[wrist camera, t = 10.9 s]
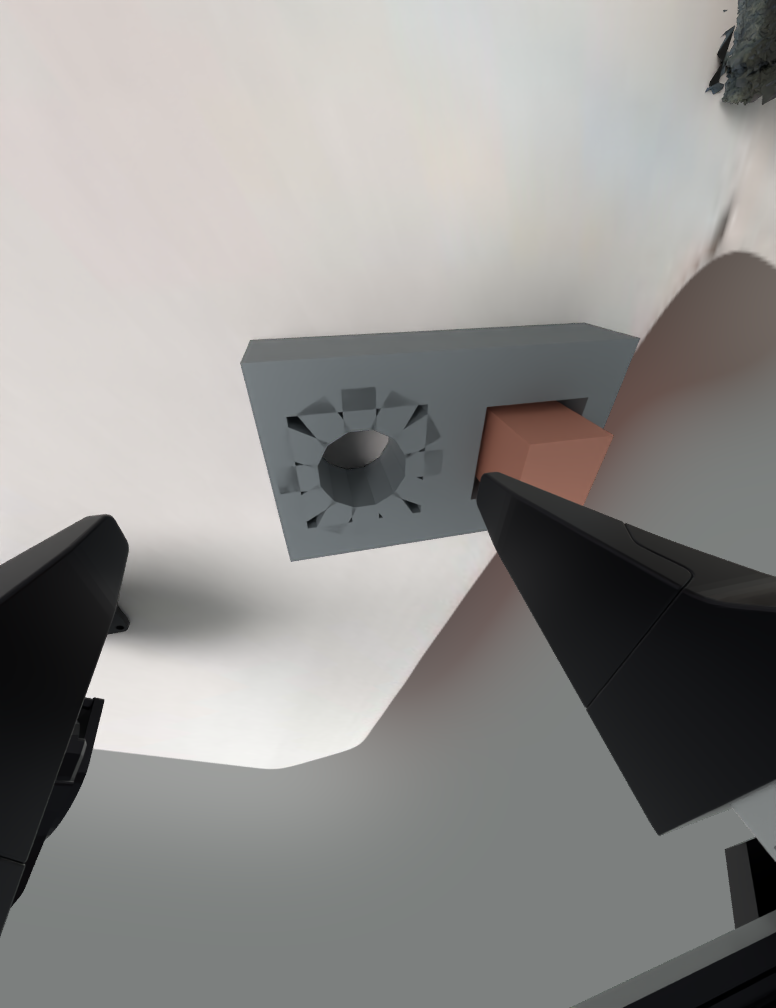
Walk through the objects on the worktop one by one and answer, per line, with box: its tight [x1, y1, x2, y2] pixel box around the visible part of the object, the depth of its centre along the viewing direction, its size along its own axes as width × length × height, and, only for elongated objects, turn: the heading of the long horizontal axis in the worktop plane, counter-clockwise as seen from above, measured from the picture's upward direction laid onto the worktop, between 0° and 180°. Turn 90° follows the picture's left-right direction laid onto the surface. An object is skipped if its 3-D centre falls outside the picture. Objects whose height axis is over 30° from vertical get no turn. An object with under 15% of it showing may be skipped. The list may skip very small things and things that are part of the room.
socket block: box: [240, 323, 640, 562], centre depth 20 cm, size 11×18×4 cm, turn 91°
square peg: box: [475, 401, 614, 506], centre depth 19 cm, size 4×4×7 cm
